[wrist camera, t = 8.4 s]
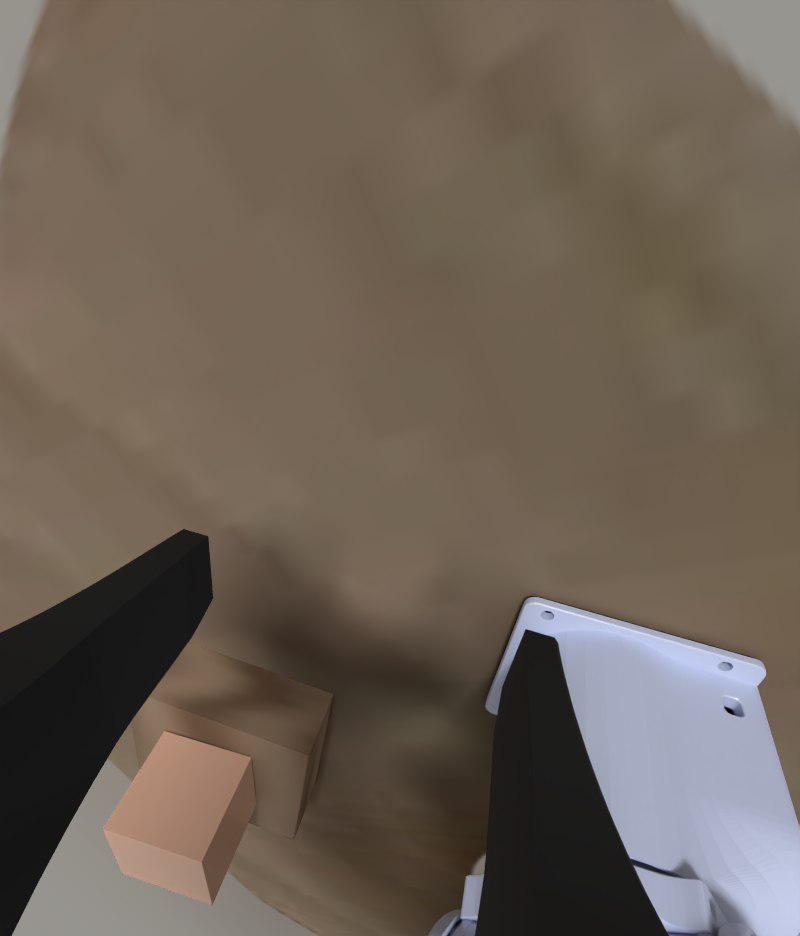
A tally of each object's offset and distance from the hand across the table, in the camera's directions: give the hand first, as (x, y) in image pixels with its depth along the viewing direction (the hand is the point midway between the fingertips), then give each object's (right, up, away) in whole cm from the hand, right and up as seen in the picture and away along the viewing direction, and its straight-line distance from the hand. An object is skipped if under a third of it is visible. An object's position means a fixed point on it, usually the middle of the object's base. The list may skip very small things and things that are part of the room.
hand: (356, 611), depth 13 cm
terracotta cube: (-9, -13, +19) cm, 25 cm away
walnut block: (-8, -11, +22) cm, 26 cm away
